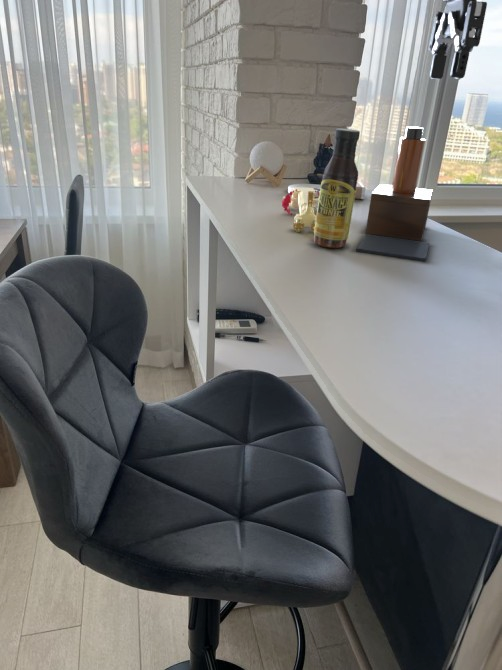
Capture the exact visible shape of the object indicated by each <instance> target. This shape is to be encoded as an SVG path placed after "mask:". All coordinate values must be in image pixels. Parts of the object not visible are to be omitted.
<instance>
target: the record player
mask: <svg viewBox="0 0 502 670" xmlns="http://www.w3.org/2000/svg"><path fill="white" fill-rule="evenodd" d="M294 187H307V188H314V190H316V192H315V198H319V196H318V195H319V194H317V192H319V193H320V189H321V184H315V183H295V184H290V185H288V188H287V189H288V190H287V192H288V194H290V192H291V191H293V188H294ZM365 196H366V186H365V185H364V184H363V183H362V182H361V181H357V185H356V194H355V199H356V200H364V199H365ZM355 199H354V200H355Z"/></svg>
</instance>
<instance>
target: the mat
mask: <svg viewBox="0 0 502 670" xmlns="http://www.w3.org/2000/svg"><path fill="white" fill-rule="evenodd" d="M429 247H430V242H425V241H417V240H410V239H403V238H395V237H388V236H381V235H374V234H367V233H365V235H364V236H363V238H362V240H361V241H360V242H359V244H358V246H357V247H356V250H355V251H356V252H359V253H360V252H361V253H368V254H373V255H380V256H387V257H395V258H400V259H407V260H412V261H413V260H414V261H420V262H426V260H427V256H428V251H429Z"/></svg>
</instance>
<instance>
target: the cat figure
mask: <svg viewBox="0 0 502 670" xmlns="http://www.w3.org/2000/svg"><path fill="white" fill-rule="evenodd" d="M315 192H316V190H314V188H307V187H294V188H293V191H291V192H290V193H288V194H286V195H284V196H283V197H282V201H281V207H282V208H283V209H284V211H285V212H286V213H287V214H288V215H290V216H293V213H292V212H291V209H290V208H291V207H292V208H295V209H298V211H299V213H295V215H294V219H293V220H294V221H293V222H292V223H293V224H292V229H293V230H295V232H296V233H301V230H304V229H305V228H310V230H311V231H314V229H315V222H316V215H317V214H315V209H317V205H315V204H318V202H319V197H315ZM317 194H319V195H320V193H319V192H317ZM319 195H318V196H319Z"/></svg>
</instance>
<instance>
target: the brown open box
mask: <svg viewBox="0 0 502 670" xmlns="http://www.w3.org/2000/svg"><path fill="white" fill-rule="evenodd" d="M391 188H392V184H381V183H380V184H379V185H377V186H376V188H374V190H373V191H372V192H371V194H370V200H369V207H368V213H367V220H366V227H365V234H368V235H375V236H382V237H389V238H396V239H404V240H411V241H418V242H423V237H424V232H425V229H426V225H427V221H428V217H429V211H430V206H431V202H432V197H433V191H434V190H433V189H427V188H418V187H417V188H416V193H414V194H404V193H397V192H393V191H391Z"/></svg>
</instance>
